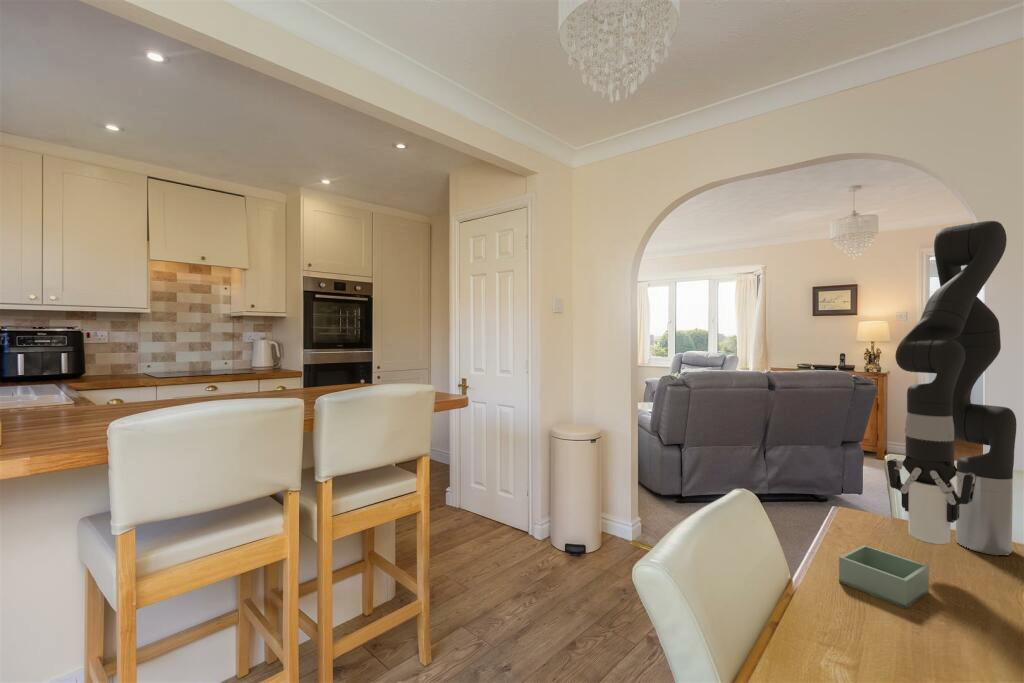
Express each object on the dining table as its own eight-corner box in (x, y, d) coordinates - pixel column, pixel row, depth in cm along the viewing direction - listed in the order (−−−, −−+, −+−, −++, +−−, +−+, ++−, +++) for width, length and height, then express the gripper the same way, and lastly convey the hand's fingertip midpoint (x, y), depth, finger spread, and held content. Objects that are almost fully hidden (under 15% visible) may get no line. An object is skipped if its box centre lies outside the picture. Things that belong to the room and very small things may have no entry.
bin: (863, 568, 98) (863, 544, 98) (928, 592, 89) (928, 566, 89) (838, 582, 93) (839, 556, 93) (905, 608, 83) (906, 581, 83)
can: (958, 546, 93) (958, 486, 93) (921, 544, 94) (921, 485, 94) (936, 532, 99) (936, 476, 99) (901, 530, 100) (901, 475, 100)
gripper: (983, 439, 92) (983, 523, 92) (894, 427, 104) (894, 501, 105) (970, 445, 88) (970, 532, 88) (879, 431, 100) (879, 509, 101)
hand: (929, 515), depth 96 cm, fingers closed on can, 6 cm apart
